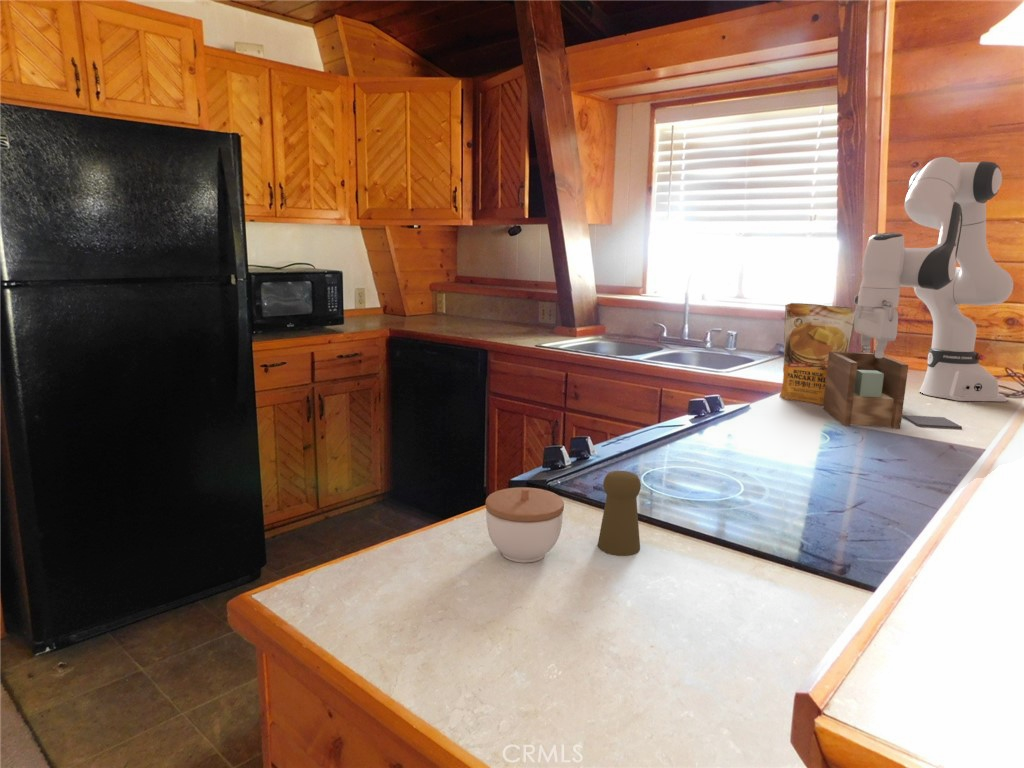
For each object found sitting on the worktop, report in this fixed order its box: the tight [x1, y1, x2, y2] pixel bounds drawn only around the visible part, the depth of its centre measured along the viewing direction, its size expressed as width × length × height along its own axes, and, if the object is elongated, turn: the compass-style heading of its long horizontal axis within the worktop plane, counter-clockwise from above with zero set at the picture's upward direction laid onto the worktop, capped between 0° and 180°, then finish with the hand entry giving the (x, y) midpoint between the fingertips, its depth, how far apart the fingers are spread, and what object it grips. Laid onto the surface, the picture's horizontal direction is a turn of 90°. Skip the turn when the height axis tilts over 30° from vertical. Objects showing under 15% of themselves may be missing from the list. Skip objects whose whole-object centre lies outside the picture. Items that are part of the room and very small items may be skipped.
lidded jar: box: [485, 486, 565, 564], centre depth 93 cm, size 11×11×9 cm
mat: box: [902, 414, 963, 430], centre depth 174 cm, size 10×10×1 cm
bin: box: [822, 351, 909, 430], centre depth 176 cm, size 13×20×16 cm, turn 170°
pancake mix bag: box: [779, 302, 855, 406], centre depth 195 cm, size 7×19×28 cm, turn 45°
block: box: [854, 370, 884, 397], centre depth 172 cm, size 5×5×6 cm
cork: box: [597, 470, 642, 557], centre depth 96 cm, size 6×6×11 cm
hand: (871, 355), depth 170 cm, fingers open, 8 cm apart
